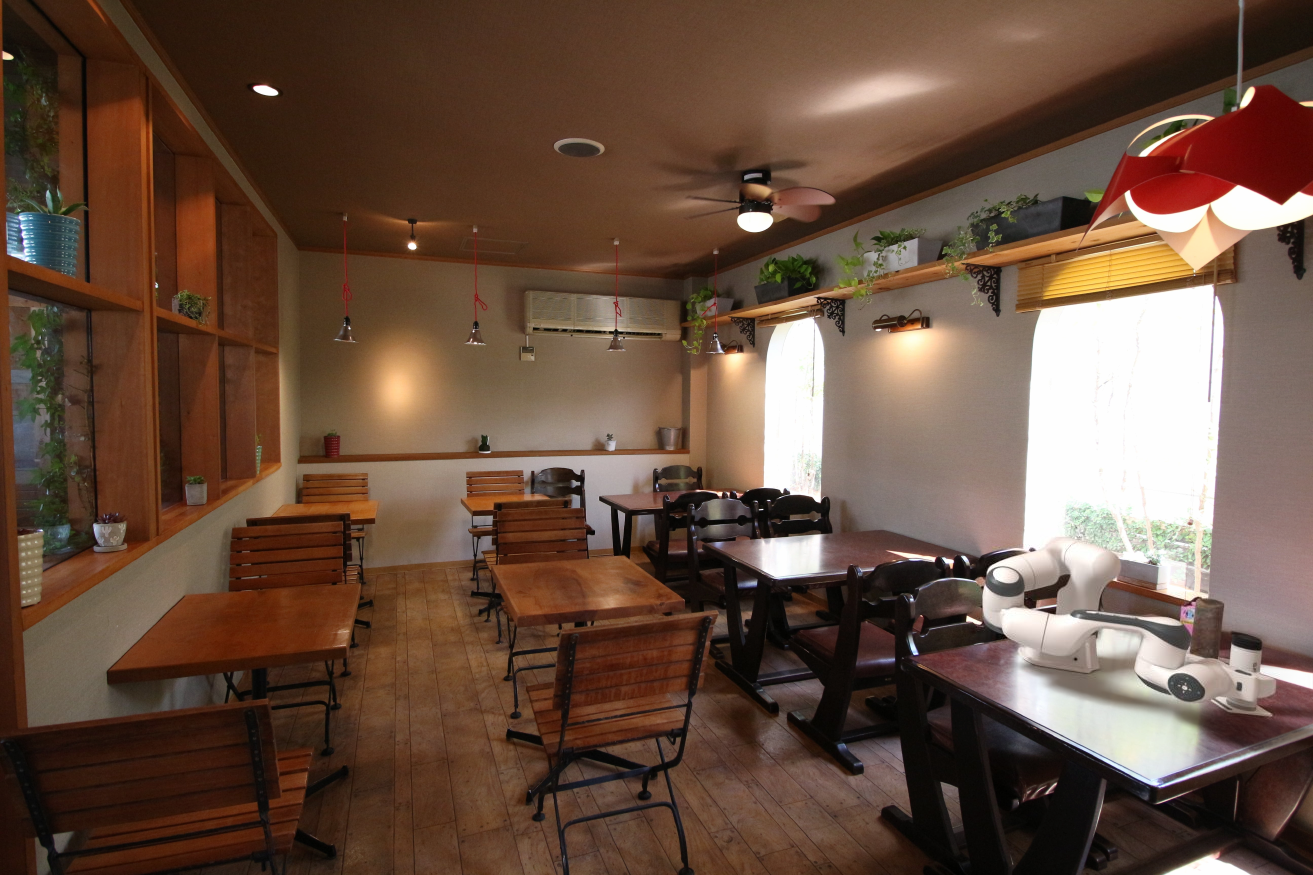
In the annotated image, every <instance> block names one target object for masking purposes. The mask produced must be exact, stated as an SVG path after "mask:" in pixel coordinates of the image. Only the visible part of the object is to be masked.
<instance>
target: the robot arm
mask: <svg viewBox="0 0 1313 875" xmlns="http://www.w3.org/2000/svg"><path fill="white" fill-rule="evenodd" d="M1121 570H1122V563H1121V559H1120V558H1119V556H1118V555H1117V554H1116V553H1114V552H1112V551H1111V550H1109V549H1108V548H1106V547H1104V546H1102V545H1098V544H1095V543H1091V542H1087V541H1083V540H1080V539H1078V538H1075V537H1071V536H1070V537H1069V536H1055V537H1052V538H1050V539H1049V540H1048V541H1047V542H1046V544H1045V546H1043V547H1042V548H1039V549H1037V550H1034V551H1030V552H1026V553H1022V554H1018V555H1014V556H1011V557H1008V558H1005V559H1003V560H999V561H998V562H996V563H994V564H992V565H990V566H989V567H988V568H987V571H986V576H985V579H984V587H983V591H982V610H981V615H982V620H983V622H984V625H986V627H987V628H989V629H990V630H992V631H993V632H996V633H998V634H1002V635H1005V636H1006V637H1007V638H1008V639H1009V640H1012V641H1013V642H1016V643H1018V644H1020V645H1023V646H1020V647H1018V649H1017V653H1018V655H1019V656H1020V657H1021V658H1022V659H1023V660H1025V661H1026V662H1028V663H1030V664H1033V665H1035V666H1038V667H1039V666H1040V667H1045V668H1050V669H1051V668H1052V669H1058V670H1062V671H1064V670H1065V671H1071V672H1078V673H1084V674H1090V673H1091V672H1093V671H1097V670H1099V669H1100V663H1099V657H1098V651H1097V650H1098V649H1097V639H1098V635H1099V630H1105V629H1106V630H1107V629H1108V630H1113V631H1120V632H1121V631H1123V632H1128V633H1129V632H1130V633H1136V634H1137V633H1138V634H1139V635H1141V636H1140V637H1141V638H1140V642H1139V647H1138V651H1137V653H1136V658H1135V663H1134V668H1133V672H1134V674H1135V675H1136V677H1137V678H1138V679H1139V680H1140V681H1141V682H1142V683H1143V684H1144V685H1145V686H1146V687H1148V688H1150V689H1152V690H1153V691H1156V692H1159V693H1161V694H1164V695H1168V696H1173V697H1174V698H1175V699H1177V700H1178V701H1181V702H1184V703H1189V704H1201V703H1207V702H1211V700H1212V699H1215V698H1216V697H1219V696H1220V697H1229V698H1235V699H1240V700H1245V701H1250V702H1254V701H1256V698H1257V699H1264V698H1267V697H1270V696H1272V695H1274V694H1275V693H1276V689H1277V680H1276V679H1275V678H1273V677H1271V676H1268V675H1265V674H1262V673H1261V671H1260V672H1256V671H1247V670H1244V669H1240V668H1237V667H1234V666H1230V665H1229V664H1228V663H1226V662H1224V661H1222V660H1220V659H1219V658H1218V659H1214V658H1203V657H1199V656H1196V655H1193V654H1189V653H1190V652H1189V653H1188V650H1190V643H1191V641H1192V636H1191V634H1190V632H1189V630H1188V629H1187V627H1186V626H1185V625H1184V624H1183V623H1182V622H1180V620H1178V619H1175V618H1171V617H1168V616H1167V617H1166V616H1154V615H1151V616H1150V615H1138V614H1129V613H1121V612H1114V611H1106V610H1099V605H1100V598H1101V595H1102V593H1103V591H1104V589H1105V588H1106V586H1107V584H1109V583H1110V582H1112V581H1114V580H1115V579H1116V578H1117V577H1118V576H1119V575H1120V573H1121ZM1064 575H1070V577H1069V579H1068V581H1067V583H1066V585H1065V586H1062V587H1060V589H1059V590H1058V592H1057V598H1056V611H1055V613H1054V614H1053V613H1050V612H1045V611H1042V610H1037V609H1032V608H1031V609H1030V608H1028V607H1027V606H1025V603H1024V602H1025V600H1024V599H1025V592H1028V591H1033V590H1036V589H1040V588H1044V587H1045V588H1046V587H1048V586H1053V585H1055V584H1056V583H1057V582H1058V581H1059V578H1060V577H1061V576H1064Z"/></svg>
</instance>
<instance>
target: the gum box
mask: <svg viewBox="0 0 1313 875" xmlns="http://www.w3.org/2000/svg"><path fill="white" fill-rule="evenodd" d="M1200 598H1201V599H1202V598H1203V597H1201V596H1195V597H1194V598H1192V599H1191V600H1189V601H1188V602H1186V603H1184V604H1183V605H1181V608H1180V616H1179V617H1180V619H1179V621H1180V622H1182V623H1183V624H1184V625H1185V626H1186V627H1187V629H1188V630H1189V632H1190V634H1191V636H1192V630H1193V622H1194V614H1195V606H1196V600H1197V599H1200ZM1219 601H1220V602H1223V600H1219ZM1190 645H1191V643H1190Z"/></svg>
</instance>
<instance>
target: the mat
mask: <svg viewBox="0 0 1313 875" xmlns="http://www.w3.org/2000/svg"><path fill="white" fill-rule="evenodd" d="M1210 702H1212V703H1214V704H1215V705H1216V706H1218V707H1220V708H1221V709H1222V710H1224V711H1226V712H1227V713H1233V714H1242V715H1244V714H1245V715H1253V716H1262V717H1273V713H1271V712H1269V711H1267V710H1265V709H1264V708H1262V707H1260V706H1259V705H1257V708H1256V710H1255V711H1246V710H1241V709H1237V708H1235V707H1232V706H1230V705H1229V704H1227V703H1226V697H1220V696H1219V697H1216V698H1215V699H1212V700H1210Z"/></svg>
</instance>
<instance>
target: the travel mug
mask: <svg viewBox="0 0 1313 875" xmlns="http://www.w3.org/2000/svg"><path fill="white" fill-rule="evenodd" d="M1230 635H1231V636H1232V639H1231V645H1230V646H1231V647H1230V654H1229V655H1230V657H1229V664H1228V665H1230V666H1234V667H1237V668H1240V669H1244V670H1247V671H1256V672H1260V673H1261V666H1262V665H1261V662H1262V654H1263V653H1262V651H1263V641H1262V639H1260V638H1258V637H1256V636H1255V635H1254V636H1253V635H1250V634H1247V633H1244V632H1238V631H1233V630H1231V631H1230ZM1226 703H1227V704H1229V705H1230V706H1232V707H1235V708H1237V709H1241V710H1246V711H1255V710H1256V708H1257V706H1258V698H1256V701H1254V702H1250V701H1245V700H1240V699H1235V698H1229V697H1226Z"/></svg>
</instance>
